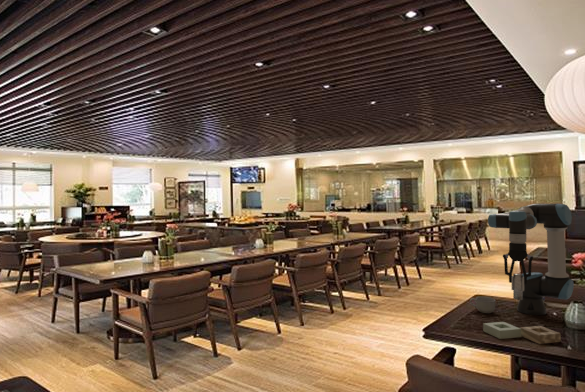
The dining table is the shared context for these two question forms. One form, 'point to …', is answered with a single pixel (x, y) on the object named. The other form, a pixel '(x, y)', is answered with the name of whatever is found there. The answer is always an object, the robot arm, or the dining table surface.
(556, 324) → the dining table surface
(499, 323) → the socket block
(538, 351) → the dining table surface
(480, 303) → the teacup
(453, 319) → the dining table surface
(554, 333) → the block
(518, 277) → the lock pin
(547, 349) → the dining table surface
